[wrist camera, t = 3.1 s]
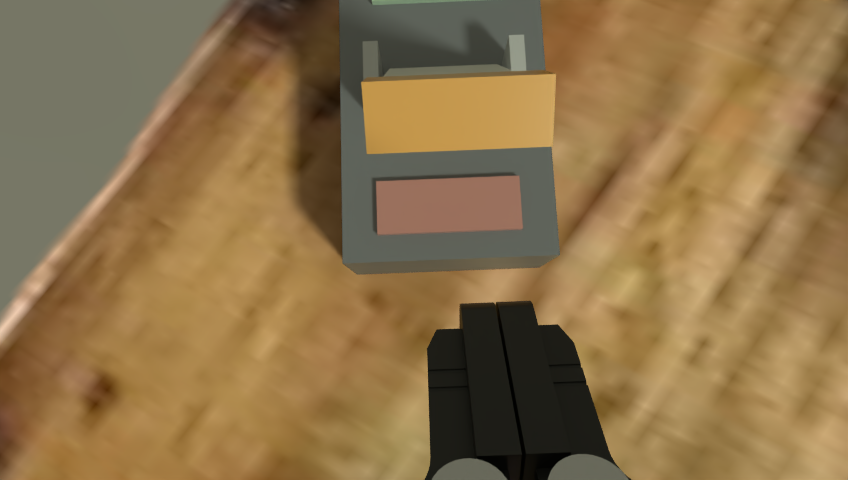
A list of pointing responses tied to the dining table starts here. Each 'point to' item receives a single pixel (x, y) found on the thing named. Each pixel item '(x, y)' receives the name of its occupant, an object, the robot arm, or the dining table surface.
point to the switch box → (441, 170)
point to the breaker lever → (458, 109)
